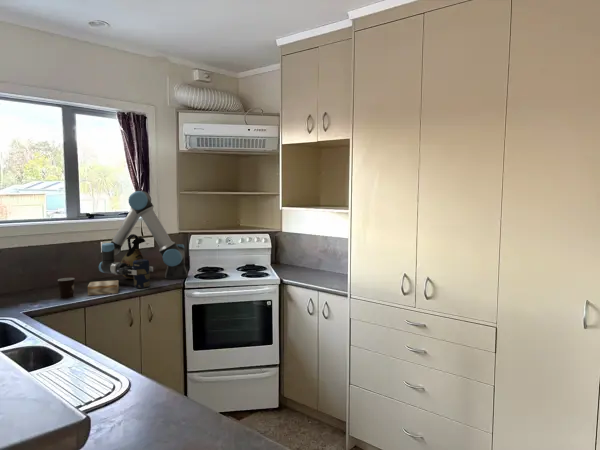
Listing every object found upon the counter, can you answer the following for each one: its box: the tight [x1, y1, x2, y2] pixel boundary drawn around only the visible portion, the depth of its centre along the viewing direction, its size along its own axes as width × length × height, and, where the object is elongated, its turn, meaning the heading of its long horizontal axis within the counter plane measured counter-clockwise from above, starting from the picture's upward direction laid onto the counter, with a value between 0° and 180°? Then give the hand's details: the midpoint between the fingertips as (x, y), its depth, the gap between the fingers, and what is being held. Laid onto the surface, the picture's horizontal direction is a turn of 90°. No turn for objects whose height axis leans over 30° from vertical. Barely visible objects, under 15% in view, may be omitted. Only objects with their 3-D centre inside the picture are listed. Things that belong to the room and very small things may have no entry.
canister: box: [133, 258, 151, 289], centre depth 279 cm, size 10×10×18 cm
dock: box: [87, 279, 120, 296], centre depth 267 cm, size 16×14×5 cm
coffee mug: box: [57, 277, 75, 299], centre depth 257 cm, size 12×9×10 cm
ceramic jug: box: [120, 233, 146, 280], centre depth 304 cm, size 17×15×30 cm
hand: (144, 270), depth 277 cm, fingers open, 13 cm apart
